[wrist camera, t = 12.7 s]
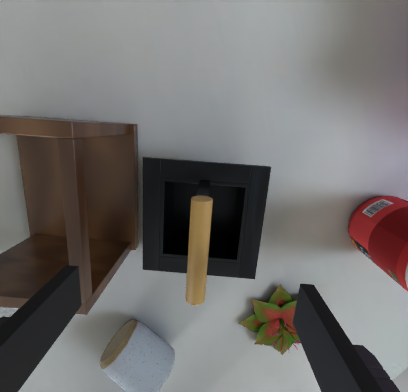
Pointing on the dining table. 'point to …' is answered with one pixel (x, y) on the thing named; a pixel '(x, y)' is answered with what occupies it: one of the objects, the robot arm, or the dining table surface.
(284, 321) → the lily flower
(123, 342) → the ceramic mug
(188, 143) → the dining table surface
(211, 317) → the dining table surface
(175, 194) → the black boxy container
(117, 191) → the open wooden box
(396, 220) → the canned food
